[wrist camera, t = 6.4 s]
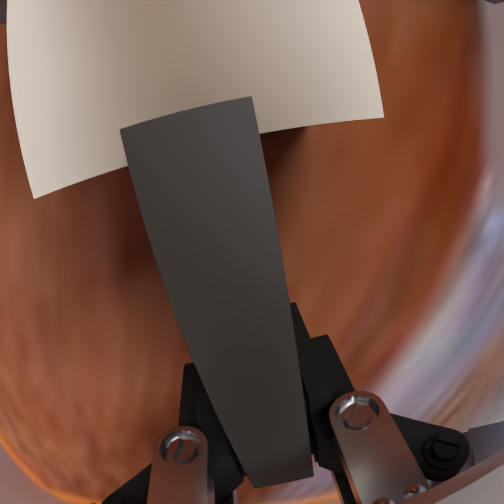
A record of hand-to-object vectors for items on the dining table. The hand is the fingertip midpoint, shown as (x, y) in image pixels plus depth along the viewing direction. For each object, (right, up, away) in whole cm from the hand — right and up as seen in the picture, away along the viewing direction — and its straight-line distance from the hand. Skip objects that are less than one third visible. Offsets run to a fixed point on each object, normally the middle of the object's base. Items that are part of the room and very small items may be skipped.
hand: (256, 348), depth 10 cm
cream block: (-1, +6, -2) cm, 7 cm away
